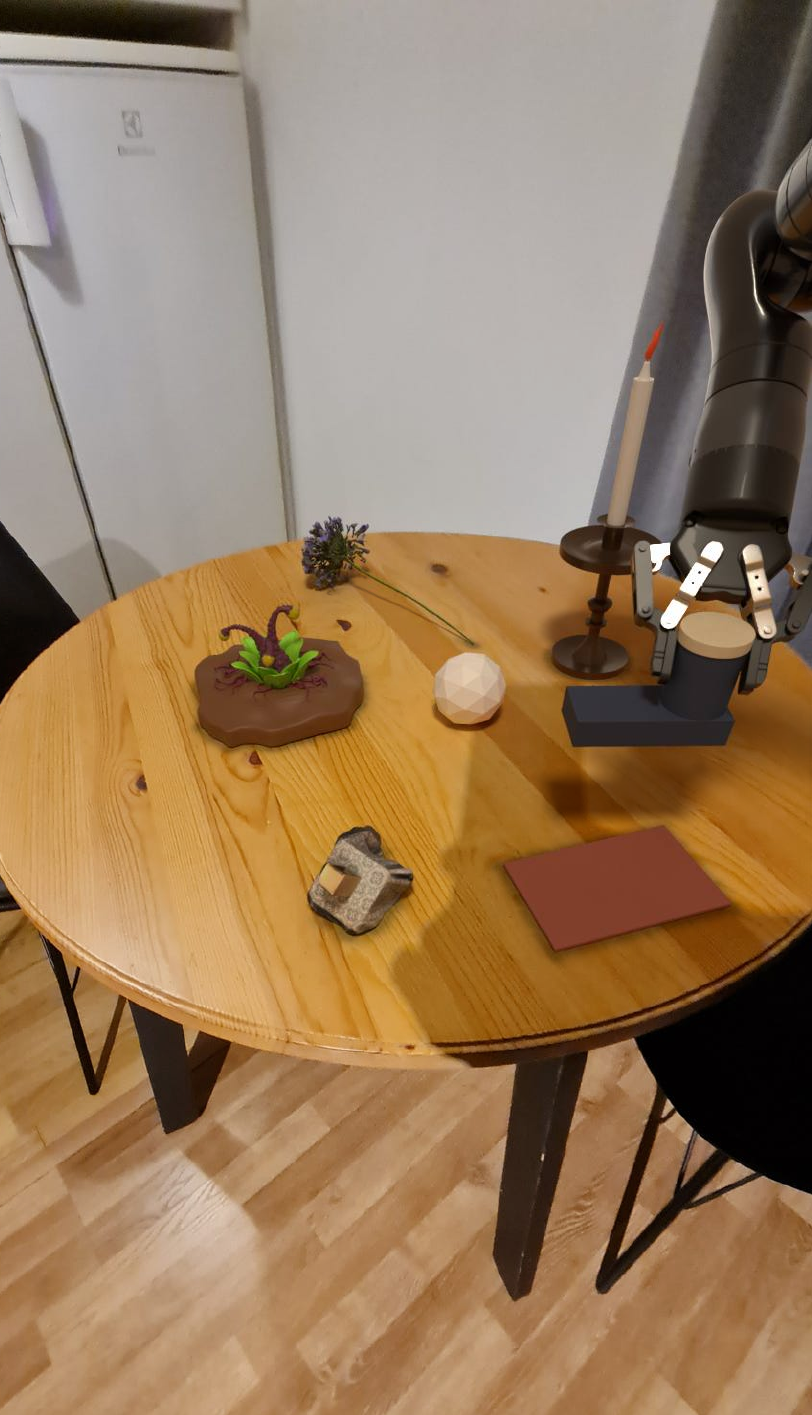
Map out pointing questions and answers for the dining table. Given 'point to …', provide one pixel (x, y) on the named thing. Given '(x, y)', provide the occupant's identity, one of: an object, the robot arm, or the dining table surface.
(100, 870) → the dining table surface
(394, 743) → the dining table surface
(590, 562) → the candlestick
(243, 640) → the plant
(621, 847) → the mat
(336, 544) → the flower
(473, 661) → the geometric ball
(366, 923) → the grey patterned crumpled piece
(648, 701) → the bootie
